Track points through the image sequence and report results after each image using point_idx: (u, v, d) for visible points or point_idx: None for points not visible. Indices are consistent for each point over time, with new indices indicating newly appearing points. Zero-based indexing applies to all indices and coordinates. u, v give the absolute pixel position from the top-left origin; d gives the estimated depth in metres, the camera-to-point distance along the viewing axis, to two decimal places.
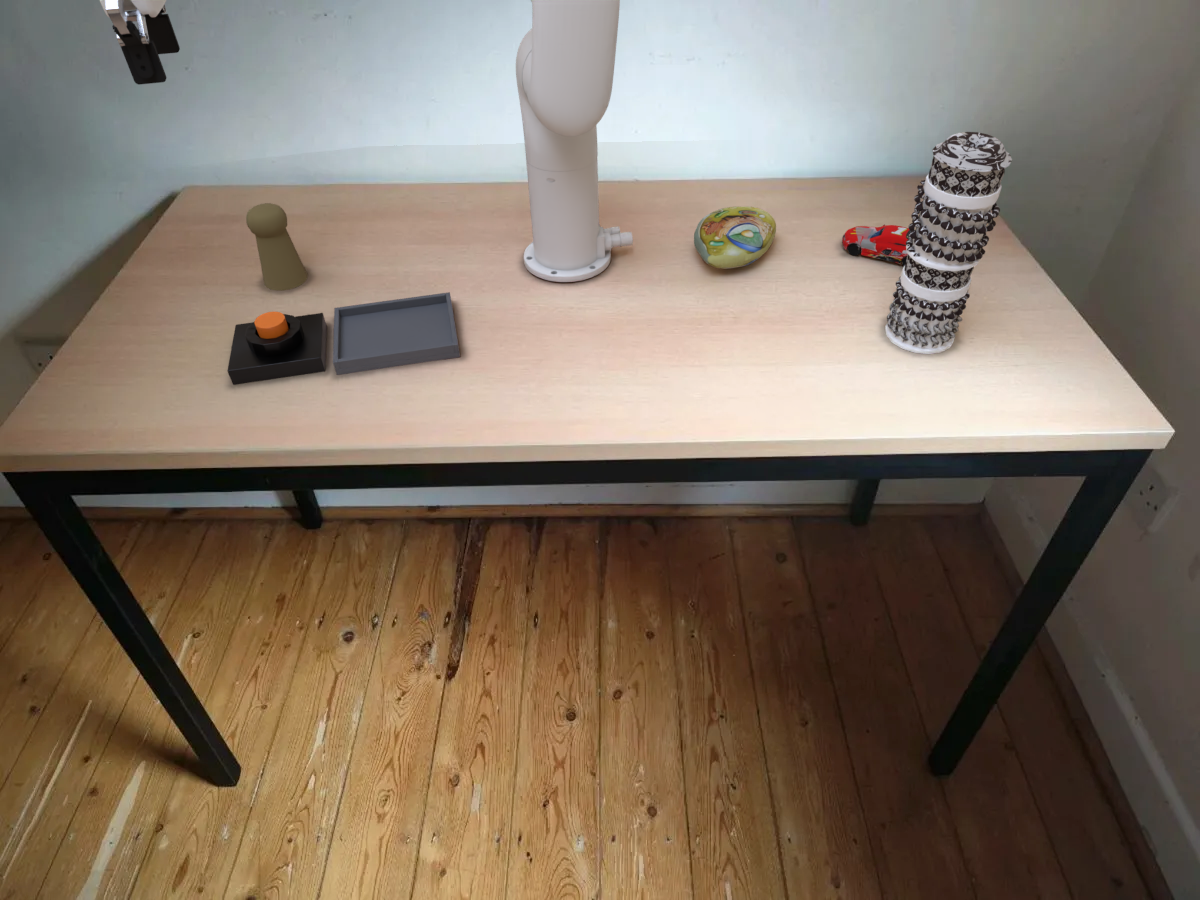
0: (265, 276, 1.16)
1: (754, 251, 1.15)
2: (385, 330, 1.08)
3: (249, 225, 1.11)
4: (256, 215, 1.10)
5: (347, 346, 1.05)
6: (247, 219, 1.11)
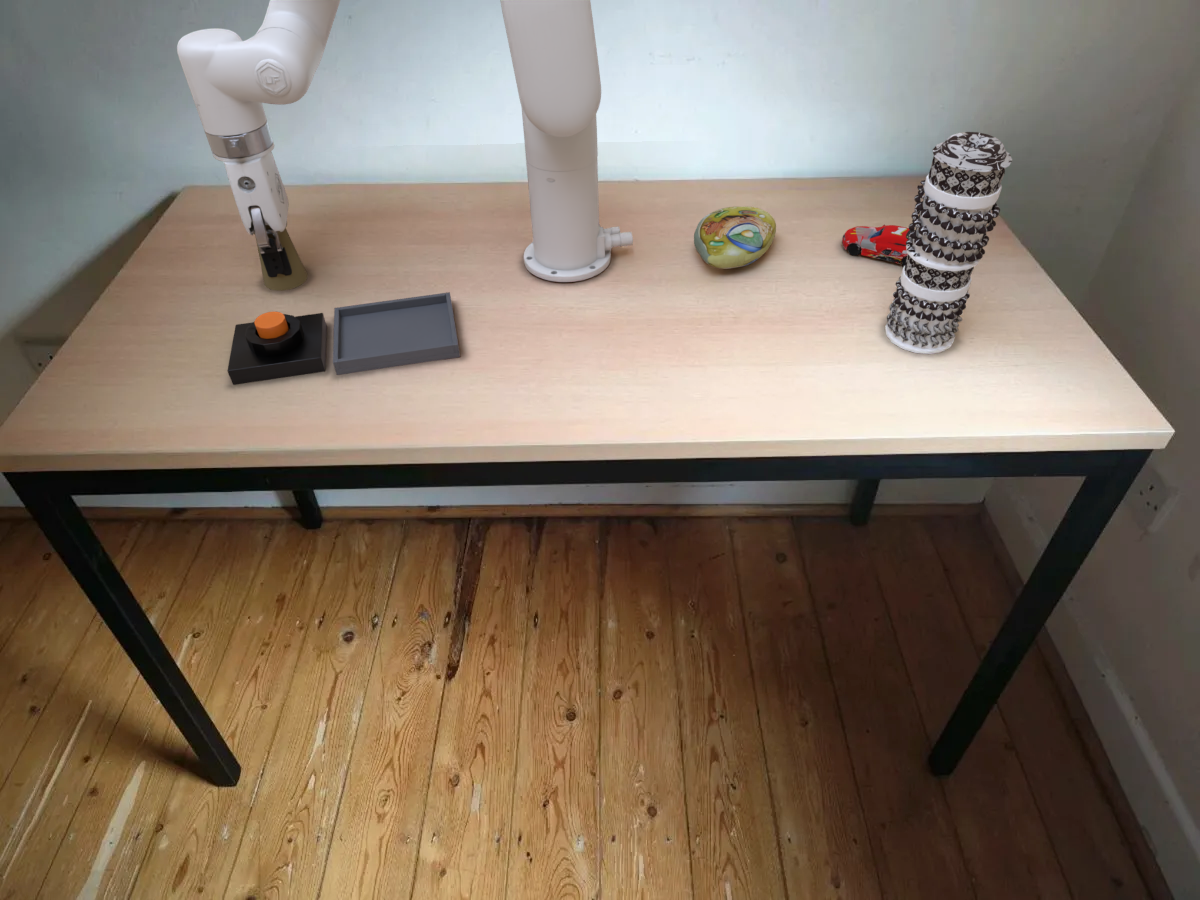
0: (265, 276, 1.16)
1: (754, 251, 1.15)
2: (385, 330, 1.08)
3: None
4: None
5: (347, 346, 1.05)
6: None
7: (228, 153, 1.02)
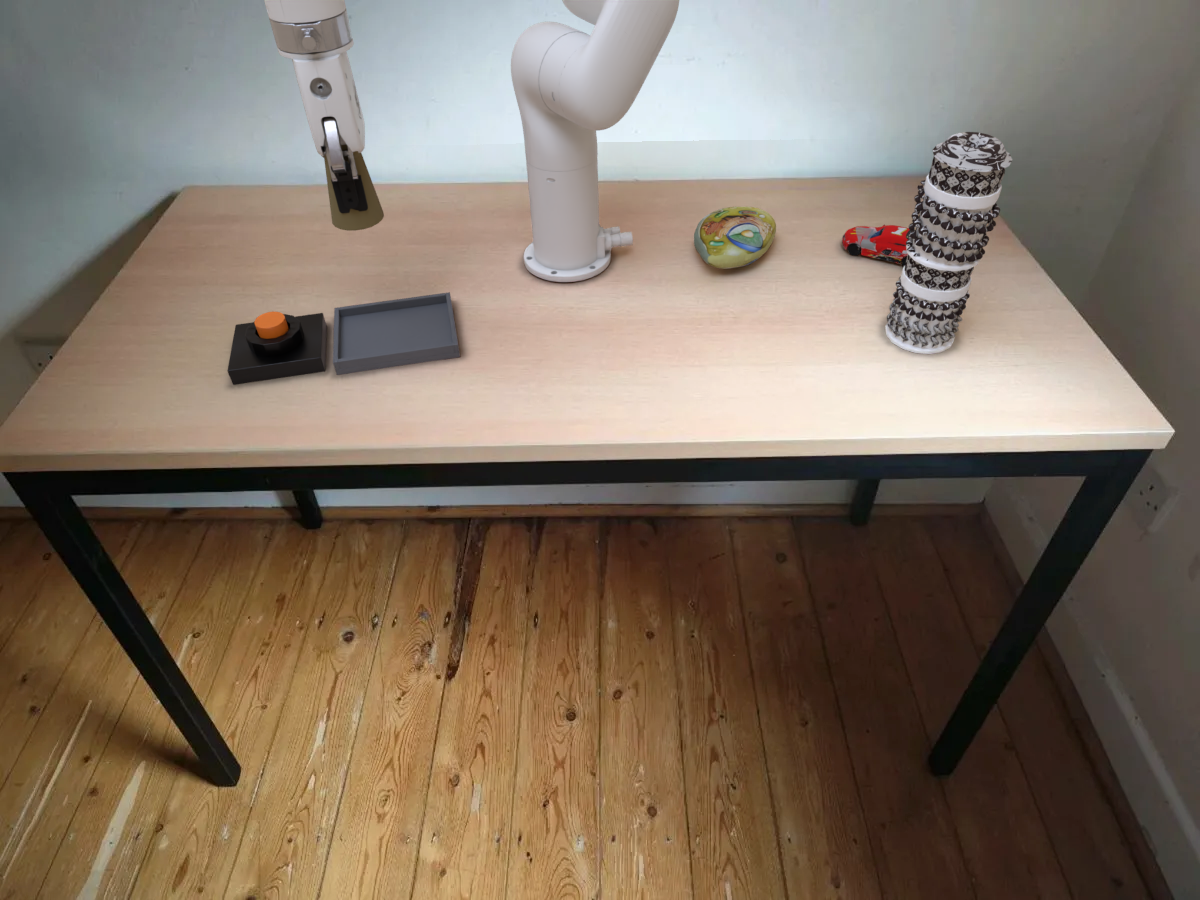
0: (334, 212, 0.95)
1: (754, 251, 1.15)
2: (385, 330, 1.08)
3: None
4: None
5: (347, 346, 1.05)
6: None
7: (299, 47, 0.81)
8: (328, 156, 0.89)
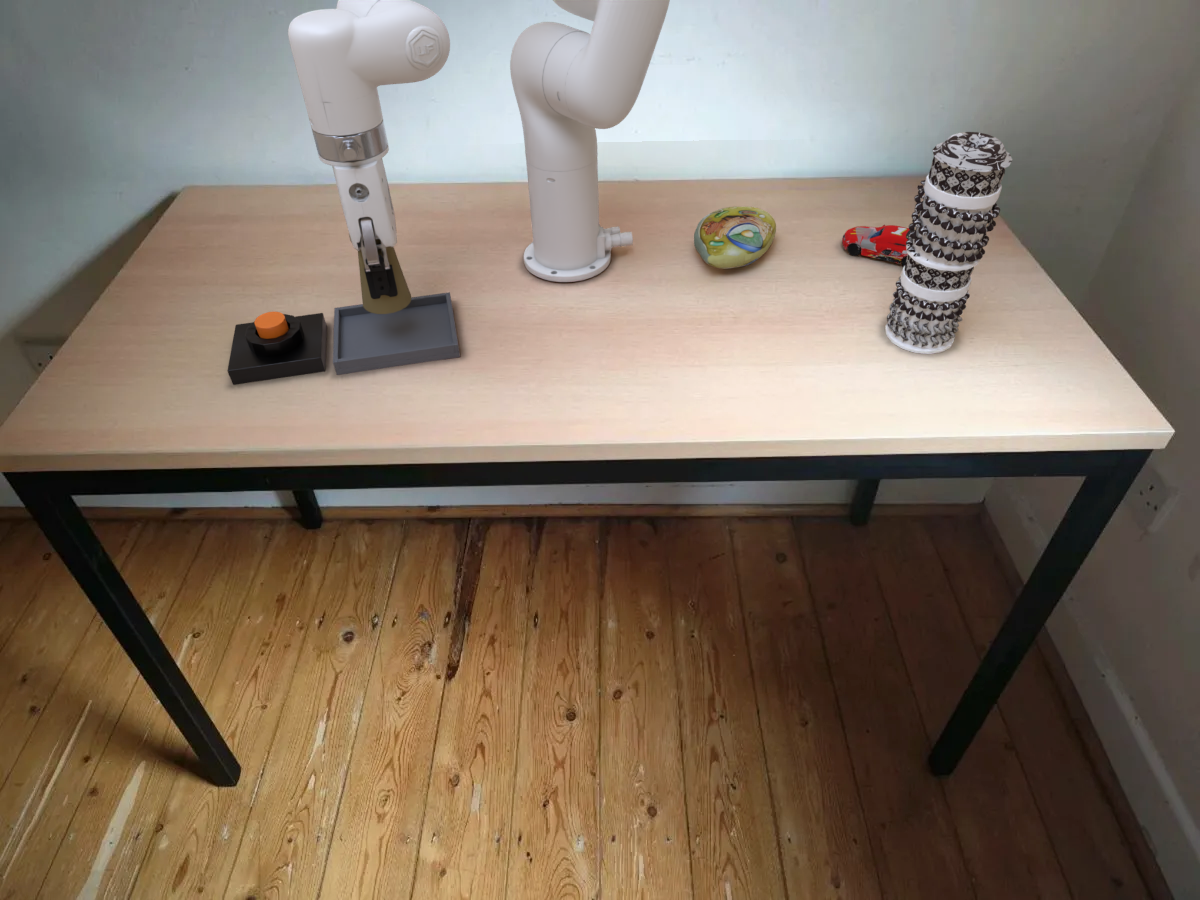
0: (366, 297, 1.01)
1: (754, 251, 1.15)
2: (385, 330, 1.08)
3: None
4: None
5: (347, 346, 1.05)
6: None
7: (340, 156, 0.87)
8: (363, 250, 0.95)
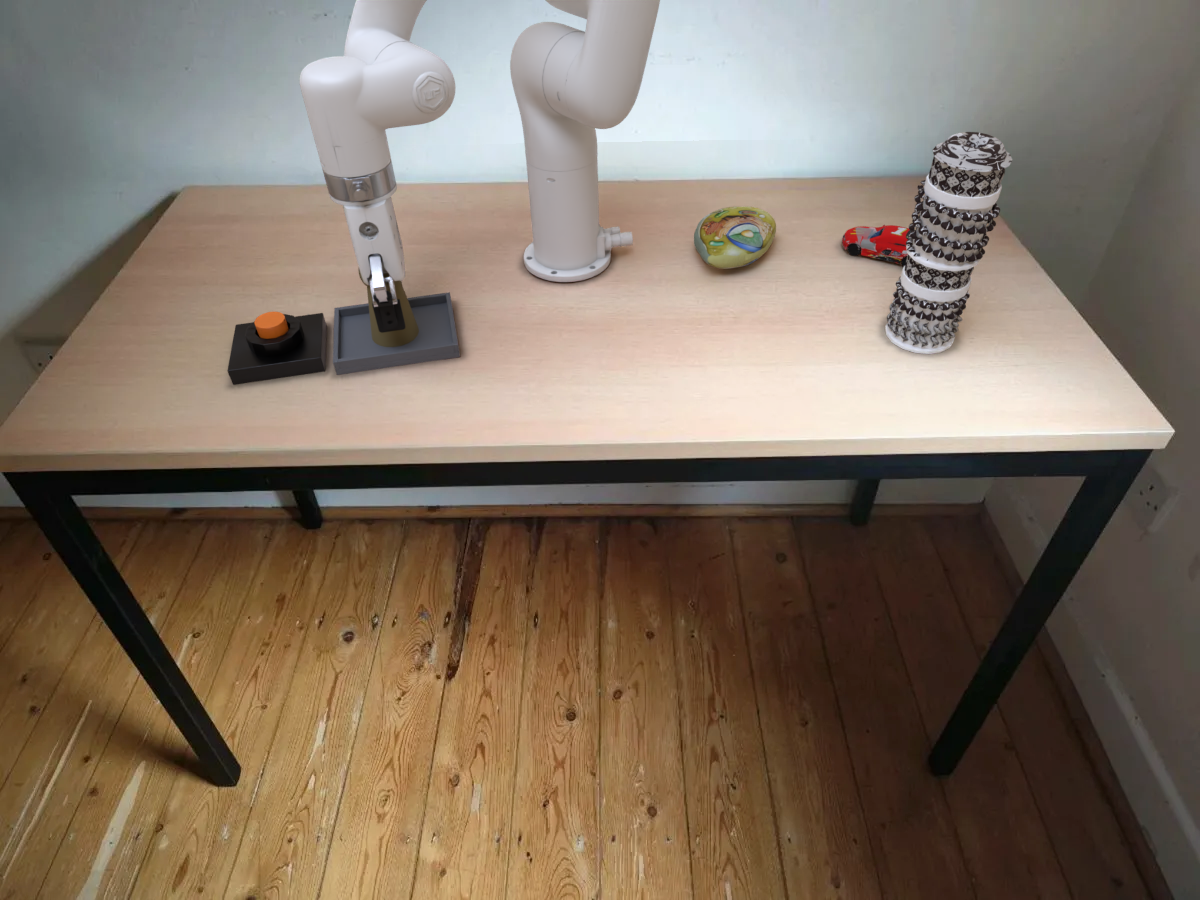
0: (375, 331, 1.04)
1: (754, 251, 1.15)
2: None
3: None
4: None
5: (347, 346, 1.05)
6: None
7: (350, 196, 0.90)
8: (371, 282, 0.97)
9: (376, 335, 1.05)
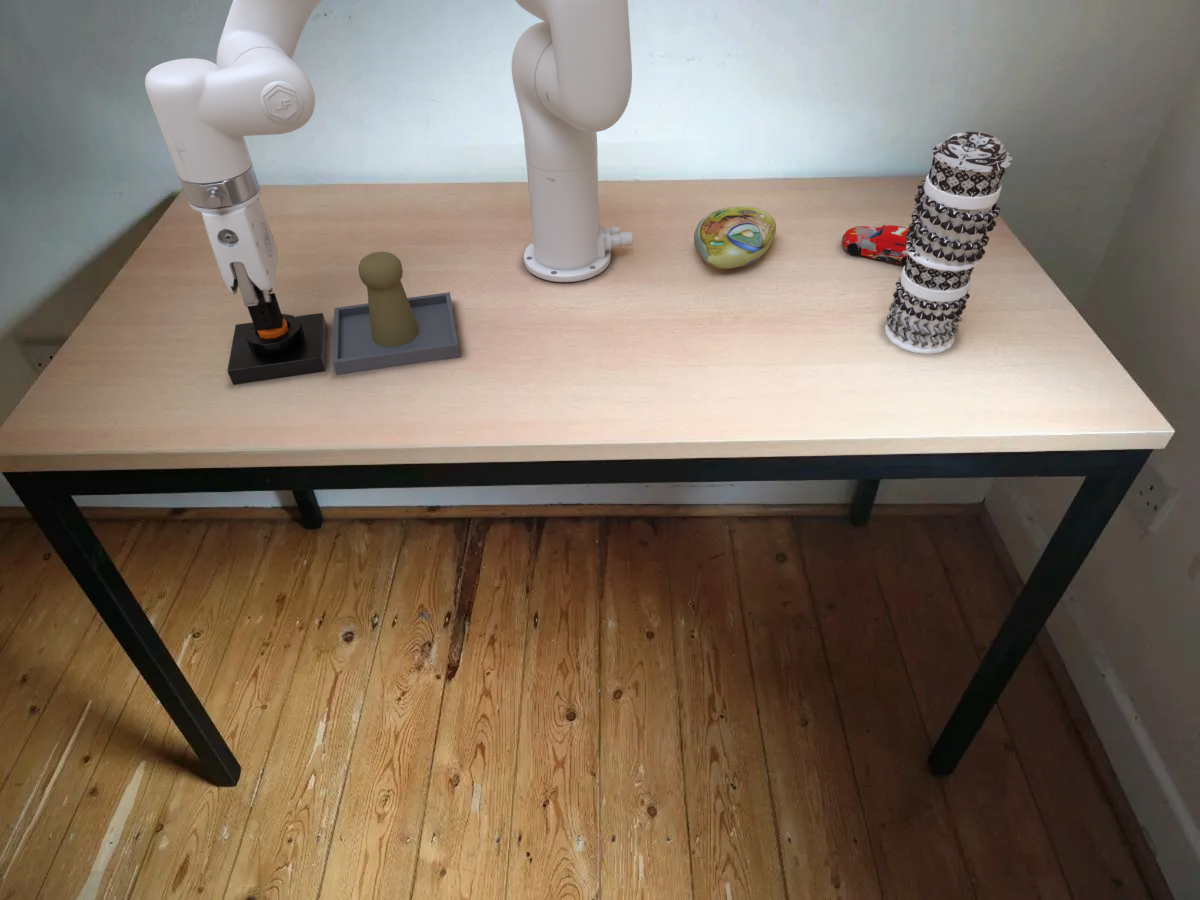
0: (375, 331, 1.04)
1: (754, 251, 1.15)
2: None
3: (363, 277, 0.99)
4: (371, 266, 0.99)
5: (347, 346, 1.05)
6: (360, 270, 0.99)
7: (206, 203, 0.87)
8: None
9: (376, 335, 1.05)
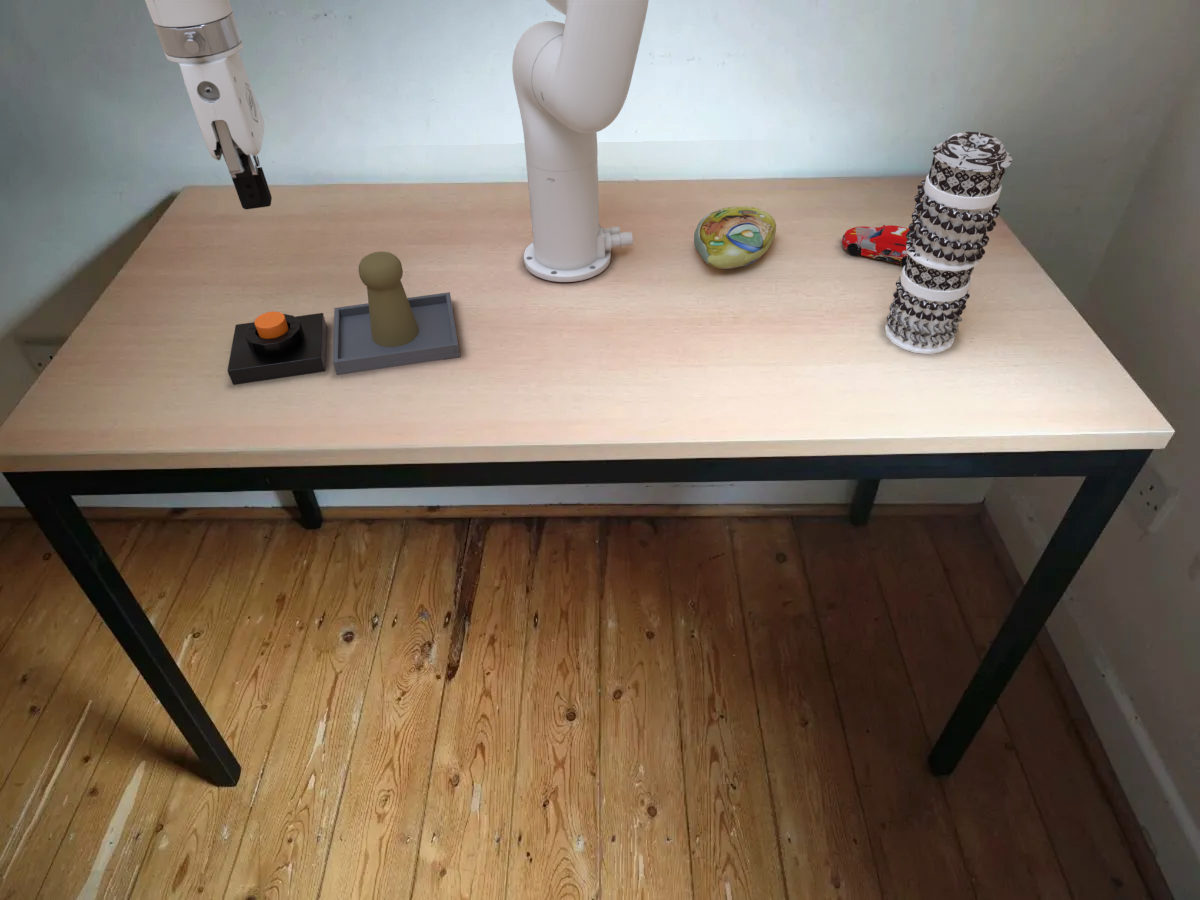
0: (375, 331, 1.04)
1: (754, 251, 1.15)
2: None
3: (363, 277, 0.99)
4: (371, 266, 0.99)
5: (347, 346, 1.05)
6: (360, 270, 0.99)
7: (184, 51, 0.81)
8: None
9: (376, 335, 1.05)
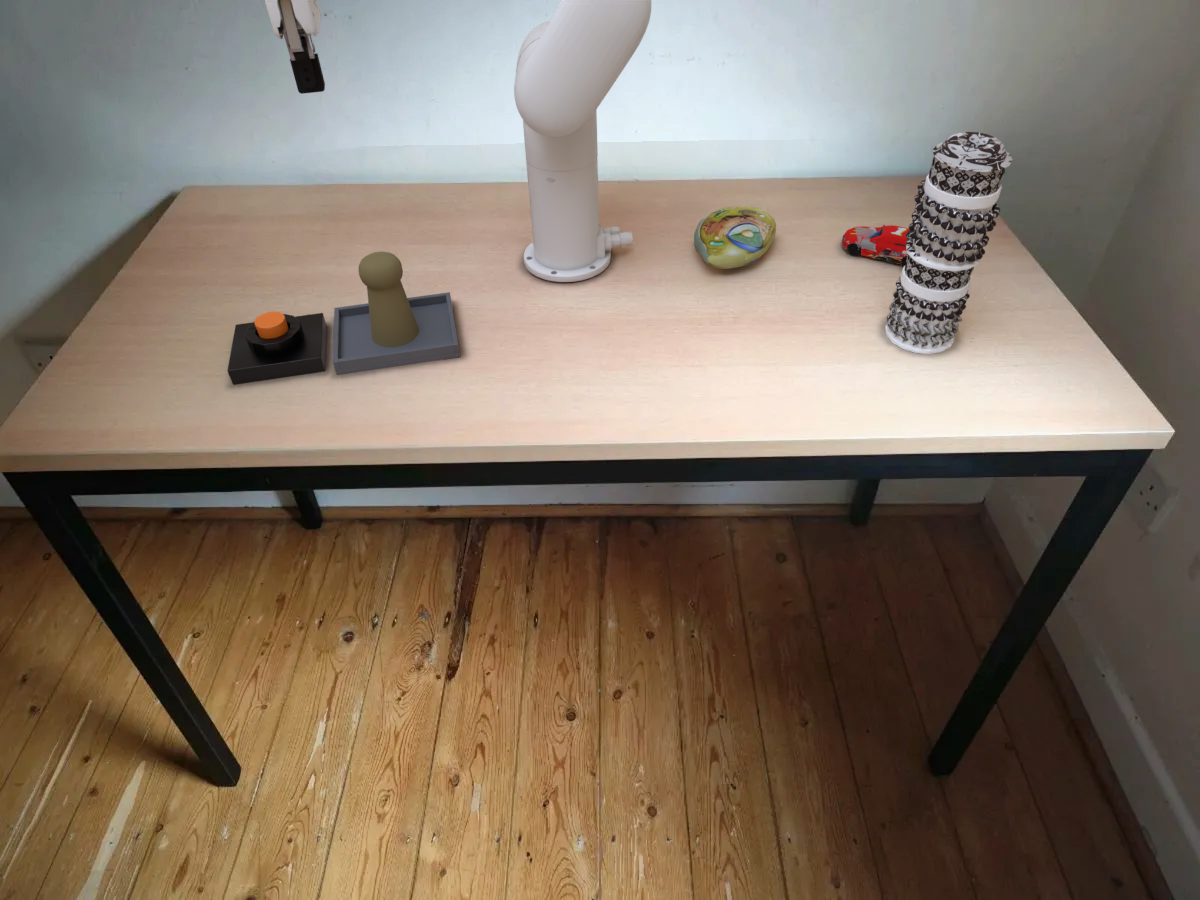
0: (375, 331, 1.04)
1: (754, 251, 1.15)
2: None
3: (363, 277, 0.99)
4: (371, 266, 0.99)
5: (347, 346, 1.05)
6: (360, 270, 0.99)
7: None
8: (286, 39, 0.98)
9: (376, 335, 1.05)
